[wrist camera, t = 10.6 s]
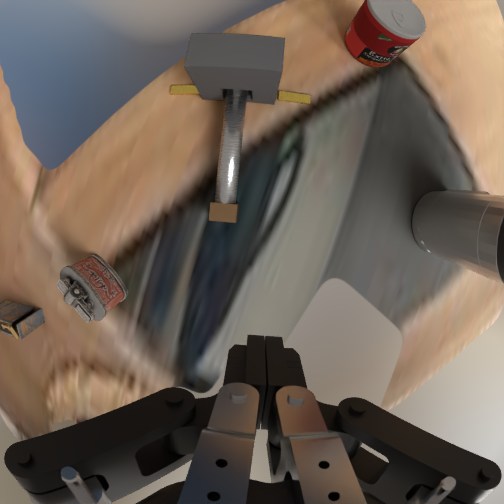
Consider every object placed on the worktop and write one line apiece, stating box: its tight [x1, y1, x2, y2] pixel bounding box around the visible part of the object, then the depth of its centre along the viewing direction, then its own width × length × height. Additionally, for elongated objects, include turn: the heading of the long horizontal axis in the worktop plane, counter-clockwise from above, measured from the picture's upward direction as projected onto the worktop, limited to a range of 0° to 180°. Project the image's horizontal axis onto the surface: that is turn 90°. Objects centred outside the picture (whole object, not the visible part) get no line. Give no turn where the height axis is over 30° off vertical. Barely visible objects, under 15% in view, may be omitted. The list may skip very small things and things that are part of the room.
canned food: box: [345, 0, 426, 67], centre depth 25 cm, size 8×8×11 cm
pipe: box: [170, 85, 311, 223], centre depth 31 cm, size 23×18×4 cm
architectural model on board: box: [0, 300, 45, 339], centre depth 35 cm, size 11×3×10 cm, turn 87°
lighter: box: [57, 254, 128, 323], centre depth 32 cm, size 8×3×10 cm, turn 41°
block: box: [184, 33, 285, 104], centre depth 27 cm, size 4×9×11 cm, turn 84°
